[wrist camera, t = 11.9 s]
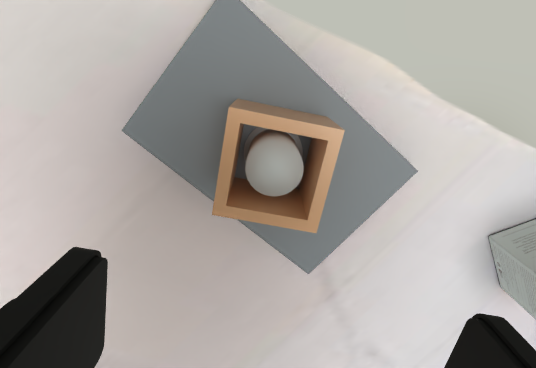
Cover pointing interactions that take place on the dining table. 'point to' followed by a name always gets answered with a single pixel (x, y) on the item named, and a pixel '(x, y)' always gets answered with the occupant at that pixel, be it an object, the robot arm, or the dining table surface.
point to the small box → (517, 263)
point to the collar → (314, 175)
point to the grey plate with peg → (263, 129)
